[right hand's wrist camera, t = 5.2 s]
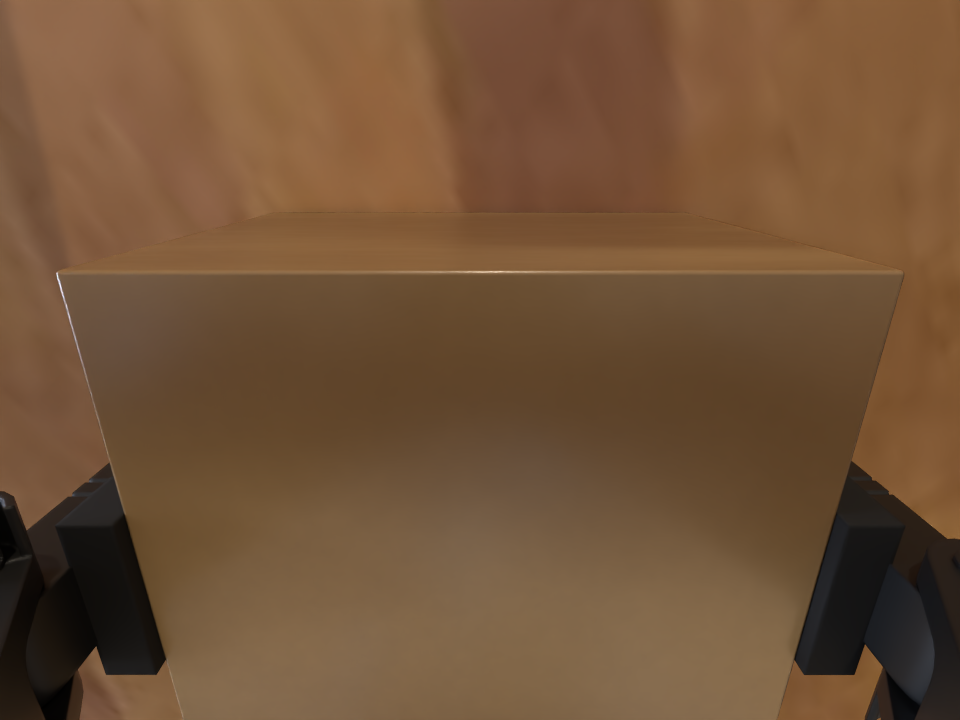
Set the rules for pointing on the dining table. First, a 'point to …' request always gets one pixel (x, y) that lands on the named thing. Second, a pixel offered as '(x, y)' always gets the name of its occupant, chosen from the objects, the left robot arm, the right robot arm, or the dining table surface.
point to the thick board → (480, 458)
